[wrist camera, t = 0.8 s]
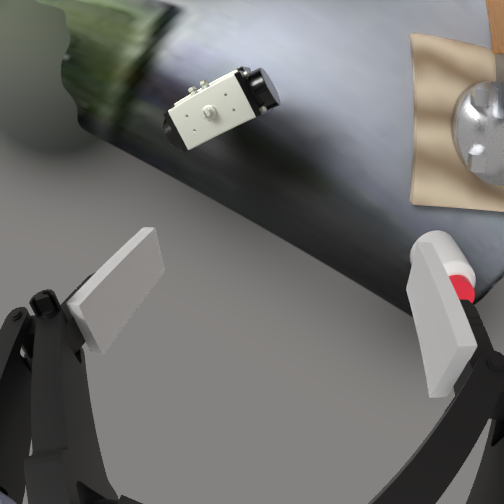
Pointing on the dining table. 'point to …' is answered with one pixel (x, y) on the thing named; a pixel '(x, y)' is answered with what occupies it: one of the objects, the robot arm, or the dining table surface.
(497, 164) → the silver saucepan
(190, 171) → the dining table surface
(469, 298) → the pill bottle
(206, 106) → the pneumatic valve
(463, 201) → the light wood square board
